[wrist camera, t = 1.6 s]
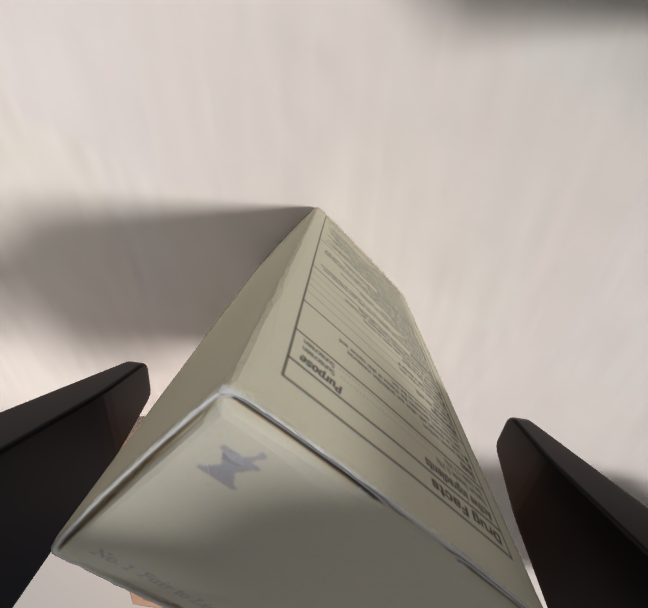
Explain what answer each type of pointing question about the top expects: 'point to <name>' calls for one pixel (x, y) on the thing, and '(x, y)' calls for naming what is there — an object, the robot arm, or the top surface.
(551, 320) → the top surface
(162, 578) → the skincare box
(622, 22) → the top surface
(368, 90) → the top surface
